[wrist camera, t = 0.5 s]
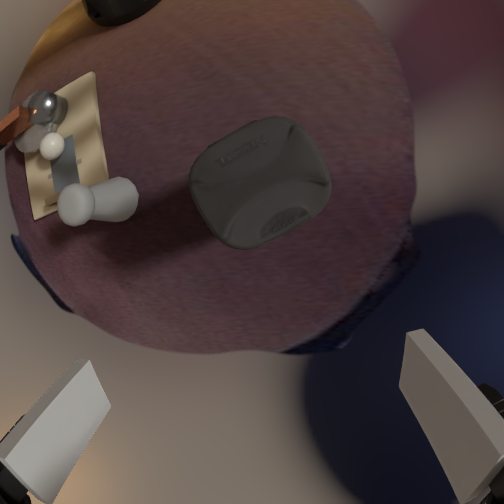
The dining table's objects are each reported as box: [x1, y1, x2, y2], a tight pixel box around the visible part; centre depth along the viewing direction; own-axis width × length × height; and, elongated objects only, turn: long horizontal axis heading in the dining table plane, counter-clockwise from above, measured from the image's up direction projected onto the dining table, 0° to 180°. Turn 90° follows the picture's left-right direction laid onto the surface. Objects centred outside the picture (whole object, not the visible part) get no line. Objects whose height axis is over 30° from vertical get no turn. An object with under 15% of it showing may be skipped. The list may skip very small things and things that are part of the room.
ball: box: [40, 132, 65, 160], centre depth 31 cm, size 4×4×4 cm
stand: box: [24, 71, 109, 220], centre depth 32 cm, size 19×16×4 cm
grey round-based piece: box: [0, 90, 68, 153], centre depth 28 cm, size 10×16×7 cm, turn 103°
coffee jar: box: [189, 116, 331, 250], centre depth 26 cm, size 10×8×19 cm
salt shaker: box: [57, 177, 139, 226], centre depth 29 cm, size 6×6×13 cm
